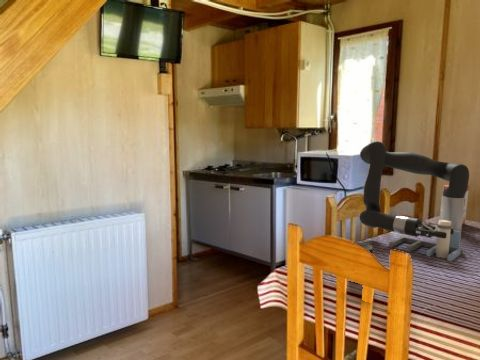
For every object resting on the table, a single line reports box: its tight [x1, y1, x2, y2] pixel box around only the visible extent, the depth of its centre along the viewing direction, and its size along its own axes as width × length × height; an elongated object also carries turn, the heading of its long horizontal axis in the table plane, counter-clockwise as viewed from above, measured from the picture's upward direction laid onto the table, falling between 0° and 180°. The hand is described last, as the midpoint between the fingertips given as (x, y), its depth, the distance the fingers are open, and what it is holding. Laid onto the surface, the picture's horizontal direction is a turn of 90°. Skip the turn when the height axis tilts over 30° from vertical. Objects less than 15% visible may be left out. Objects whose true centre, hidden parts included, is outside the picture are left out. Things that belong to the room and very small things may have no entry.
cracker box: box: [438, 184, 470, 225], centre depth 201 cm, size 14×6×21 cm, turn 117°
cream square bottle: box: [435, 220, 452, 259], centre depth 152 cm, size 5×5×14 cm
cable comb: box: [388, 230, 465, 262], centre depth 159 cm, size 13×25×9 cm, turn 45°
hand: (449, 233), depth 150 cm, fingers open, 7 cm apart
